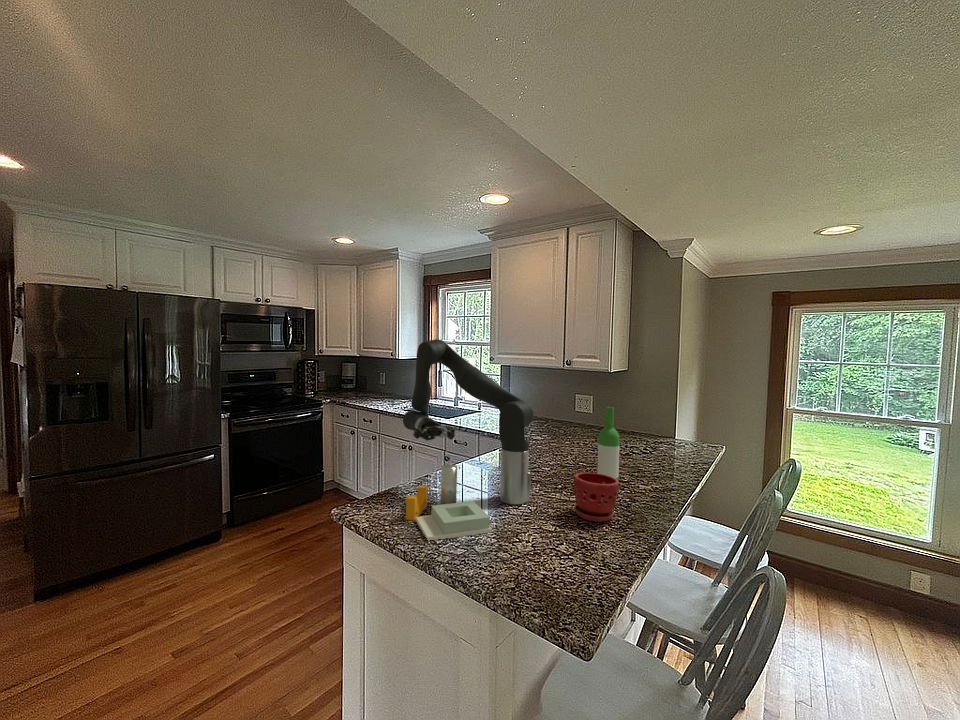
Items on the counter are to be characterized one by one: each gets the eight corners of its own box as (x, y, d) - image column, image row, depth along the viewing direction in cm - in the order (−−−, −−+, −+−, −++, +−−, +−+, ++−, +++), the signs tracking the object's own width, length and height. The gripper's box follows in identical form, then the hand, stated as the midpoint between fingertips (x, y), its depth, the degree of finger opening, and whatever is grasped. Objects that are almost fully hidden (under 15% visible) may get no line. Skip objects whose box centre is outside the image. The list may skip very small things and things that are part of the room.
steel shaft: (453, 503, 132) (454, 463, 132) (458, 509, 127) (459, 468, 127) (438, 505, 130) (439, 465, 130) (442, 511, 125) (444, 469, 125)
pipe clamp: (414, 505, 130) (414, 484, 130) (427, 506, 130) (427, 486, 130) (400, 519, 119) (400, 497, 119) (414, 521, 118) (414, 498, 118)
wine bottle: (603, 480, 163) (606, 405, 163) (621, 484, 157) (624, 407, 157) (593, 483, 158) (595, 406, 158) (611, 488, 152) (614, 408, 152)
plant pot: (605, 528, 116) (607, 487, 116) (565, 515, 125) (566, 476, 125) (624, 516, 126) (625, 477, 125) (585, 505, 134) (586, 469, 134)
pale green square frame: (473, 513, 124) (474, 500, 124) (491, 532, 111) (492, 517, 111) (415, 520, 118) (416, 506, 118) (427, 541, 105) (428, 525, 105)
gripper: (408, 418, 150) (420, 426, 135) (445, 417, 156) (460, 425, 141) (407, 438, 150) (419, 449, 136) (444, 436, 156) (459, 446, 141)
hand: (440, 437), depth 138 cm, fingers open, 8 cm apart
